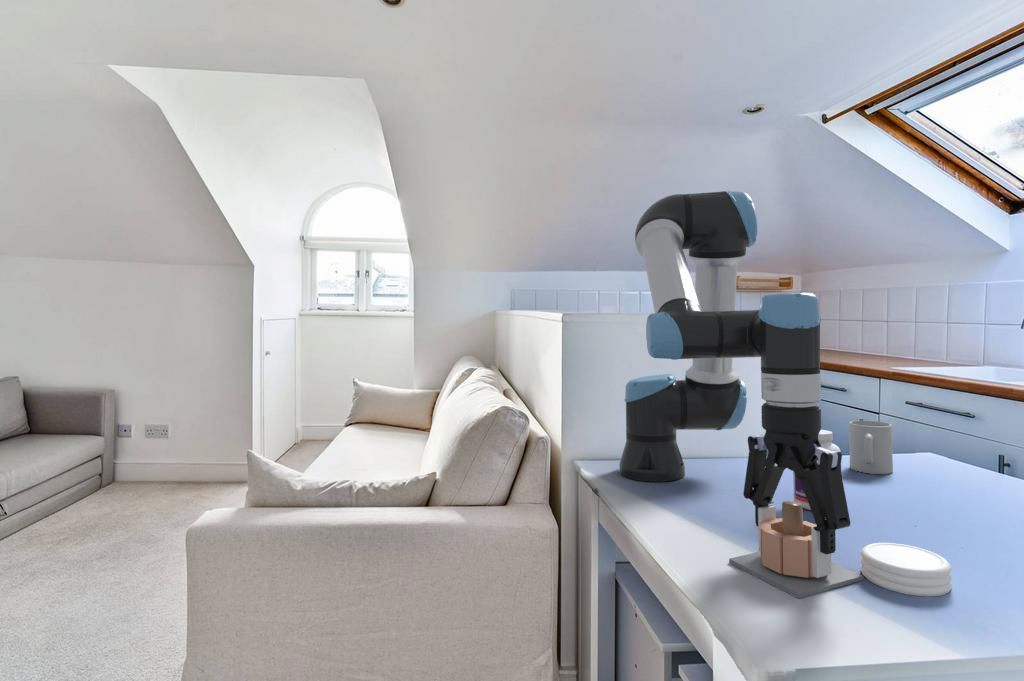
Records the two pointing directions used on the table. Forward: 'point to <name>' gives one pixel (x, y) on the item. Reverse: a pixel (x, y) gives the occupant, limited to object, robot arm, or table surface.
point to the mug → (871, 447)
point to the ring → (786, 549)
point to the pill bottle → (799, 494)
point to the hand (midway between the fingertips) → (793, 561)
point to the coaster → (906, 569)
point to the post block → (788, 583)
